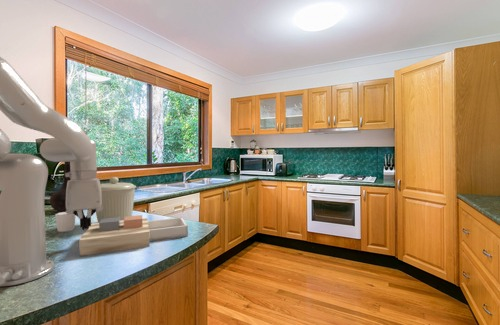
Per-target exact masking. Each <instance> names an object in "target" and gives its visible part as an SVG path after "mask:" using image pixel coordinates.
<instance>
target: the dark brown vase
mask: <svg viewBox="0 0 500 325" xmlns="http://www.w3.org/2000/svg"><path fill="white" fill-rule="evenodd" d="M63 171H64V172H63V181H62V184H61V187H60V188H59V189H58V190H56V191H54V192H53V193H52V194H51V196H50V198H49V204H50V207H51V208H52V209H54V210H55V211H57V212H58V213H61V212H66V210H67V209H66V188H67V182H68V181H69V180H71V179H70V178H69V177H65V173H68V172H70V162H64V170H63Z"/></svg>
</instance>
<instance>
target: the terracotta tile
mask: <svg viewBox="0 0 500 325" xmlns="http://www.w3.org/2000/svg"><path fill="white" fill-rule="evenodd" d="M142 218H143V214H138V215H132V216H127V217H124V229H129V228H138V227H143V226H142Z"/></svg>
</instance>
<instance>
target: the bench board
mask: <svg viewBox="0 0 500 325" xmlns="http://www.w3.org/2000/svg"><path fill="white" fill-rule="evenodd" d="M148 221H149V220H148V217H142V226H143V227H138V228H129V229H124V220H122V221H120V229H119V230H111V231H102V232H99V223H98V222H96V223H95V222H94V223H93V222H91V226H89V229H88V230H86V229H85V230H84V232H83V234H82V235H81V237H80V238H79V241H78V242H79V244H78V245H79V257H83V256H84V257H85V256H90V255H91V256H92V255H97V254H98V255H99V254H105V253H112V252H117V251H118V252H120V251H125V250H133V249H139V248H146V247H150V240H149V226H148Z"/></svg>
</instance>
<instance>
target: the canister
mask: <svg viewBox="0 0 500 325" xmlns="http://www.w3.org/2000/svg"><path fill="white" fill-rule="evenodd" d="M100 185H101V191H102V205H103V210H101V211H98V212H95V215H96V220H97V223H100V221H101V219H106V218H116V217H120V221H122V220H124V217H127V216H133V211H134V210H133V209H134V201H135V192H136V191H135V190H136V188H137V185H135V184H133V183H131V182H119V177H117V176H113V177H110V178H109V182H107V183H100Z"/></svg>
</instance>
